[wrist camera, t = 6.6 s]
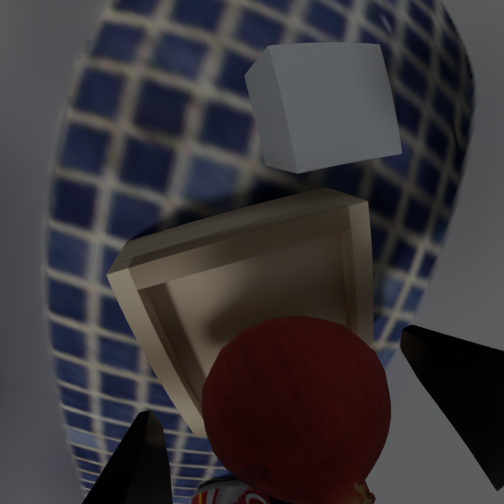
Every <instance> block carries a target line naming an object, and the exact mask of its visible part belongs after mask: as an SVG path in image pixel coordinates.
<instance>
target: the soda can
mask: <svg viewBox="0 0 504 504" xmlns="http://www.w3.org/2000/svg"><path fill="white" fill-rule="evenodd" d="M191 504H270V501H269V498H268V495H266V494H263V493H261V492H259V491H257V490H255V489H253V488H252V487H250V486H248V485H247V484H245V483H243V482H242V481H221V482H216V483H212V484H208V485H206V486H204V487H202V488H200V489H199V490H198V491H197V492H196V493H195V494H194V495H193V497H192V499H191Z"/></svg>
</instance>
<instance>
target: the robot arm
mask: <svg viewBox="0 0 504 504" xmlns="http://www.w3.org/2000/svg"><path fill="white" fill-rule="evenodd" d="M400 348H401V351H402V353H403V354H404V356H405V357H406V359H407V361H408V362H409V364H410V366H411V367H412V369H413V371H414V373H415V374H416V376H417V377H418V379H419V380H420V382H421V383H422V385H423V386H424V387H425V389H426V390H427V391H428V393H429V394H430V395H431V397H432V398H433V399H434V401H435V402H436V403H437V405H438V406H439V408H440V409H441V410H442V412H443V413H444V414H445V415H446V417H447V418H448V420H449V421H450V423H451V424H452V425H453V427H454V428H455V430H456V431H457V432H458V434H459V435H460V437H461V438H462V439H463V441H464V442H465V444H466V445H467V447H468V448H469V450H470V451H471V453H472V454H473V455H474V457H475V459H476V460H477V462H478V463H479V465H480V466H481V468H482V469H483V471H484V472H485V474H486V475H487V477H488V478H489V480H490V481H491V483H492V484H493V486H494V488H495V489H496V490H497V491H498V490H499V489H501V488H502V487H503V486H504V351H502V350H498V349H495V348H491V347H488V346H484V345H480V344H477V343H473V342H470V341H466V340H463V339H460V338H456V337H453V336H449V335H446V334H442V333H439V332H436V331H432V330H429V329H425V328H422V327H419V326H416V325H409V326H407V327H405V328H403V330H402V332H401V342H400ZM94 485H95V486H93V487H92V489H91V490H90V492H89V493H88V495H87V496H86V498H85V500H84V501H83V503H82V504H173V501H172V490H171V478H170V466H169V460H168V454H167V449H166V443H165V437H164V431H163V427H162V425H161V423H160V422H159V420H158V419H157V418H156V416H155V415H154V413H153V412H152V411H143V412H140V413H139V414H138V415H137V417H136V418H135V420H134V422H133V423H132V425H131V426H130V428H129V429H128V431H127V433H126V434H125V436H124V437H123V439H122V441H121V442H120V444H119V445H118V447H117V449H116V450H115V452H114V453H113V455H112V457H111V458H110V460H109V461H108V463H107V465H106V466H105V468H104V469H103V471H102V473H101V474H100V476H99V477H98V479H97V481H96V482H95V484H94ZM268 498H269V501H270V504H293V503H289V502H286V501H282V500H279V499H276V498H273V497H270V496H268Z"/></svg>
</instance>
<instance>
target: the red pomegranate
mask: <svg viewBox="0 0 504 504" xmlns="http://www.w3.org/2000/svg"><path fill="white" fill-rule="evenodd" d="M202 415H203V421H204V426H205V431H206V434H207V437H208V439H209V442H210V445H211V448H212V450H213V452H214V453H215V455H216V456H217V458H218V459H219V460H220V462H221V463H222V465H223V466H224V467H225V468H226V469H227V470H228V471H229V472H230V473H232V474H233V475H234V476H235V477H236V478H237V479H238V480H240V481H242V482H243V483H245V484H247V485H248V486H250V487H252V488H253V489H255V490H257V491H259V492H261V493H263V494H266V495H268V496H270V497H273V498H276V499H279V500H282V501H286V502H289V503H293V504H374V502H375V499H376V498H375V497H374V494H373V493H370V491H369V489H368V487H367V484H366V482H365V479H366V478H367V476H368V474H369V473H370V471H371V470H372V468H373V466H374V465H375V463H376V461H377V460H378V458H379V456H380V454H381V451H382V449H383V447H384V445H385V442H386V439H387V435H388V432H389V426H390V420H391V401H390V395H389V389H388V384H387V379H386V374H385V370H384V368H383V366H382V364H381V362H380V360H379V358H378V357H377V355H376V353H375V351H374V350H373V349H371V348H370V347H369V346H368V345H367V344H366V343H365V342H364V341H363V340H362V339H361V338H360V337H359V336H357V335H356V334H355V333H353V332H352V331H351V330H349V329H348V328H347V327H345V326H344V325H343V324H339V323H335V322H331V321H328V320H324V319H318V318H313V317H307V316H302V315H297V316H289V317H280V318H271V319H268V320H266V321H264V322H261V323H259V324H257V325H255V326H252V327H249V328H247V329H245V330H243V331H241V332H240V333H239V334H238V335H237V336H235V337H234V338H233V339H232V340H231V341H230V342H229V343H227V344H226V345H225V346H224V347H223V348H222V349H221V350H220V352H219V354H218V356H217V358H216V360H215V362H214V364H213V366H212V367H211V369H210V372H209V374H208V376H207V378H206V381H205V383H204V385H203V387H202Z"/></svg>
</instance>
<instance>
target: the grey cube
mask: <svg viewBox="0 0 504 504" xmlns="http://www.w3.org/2000/svg"><path fill="white" fill-rule="evenodd" d="M245 80H246V84H247V88H248V92H249V96H250V100H251V105H252V109H253V113H254V117H255V122H256V126H257V130H258V134H259V139H260V143H261V148H262V152H263V157H264V161H265V166H269V167H273V168H277V169H281V170H285V171H289V172H293V173H297V174H299V173H303V172H308V171H312V170H317V169H322V168H327V167H332V166H337V165H342V164H347V163H352V162H357V161H363V160H368V159H374V158H380V157H385V156H391V155H398V154H402V150H401V143H400V136H399V130H398V123H397V118H396V112H395V107H394V102H393V97H392V92H391V87H390V83H389V79H388V74H387V70H386V66H385V63H384V59H383V55H382V51H381V48H380V44H367V43H337V42H327V43H297V44H282V45H271V46H268V47H267V48H266V49H265V50H264V52H263V53H262V54H261V55H260V57H259V58H258V59H257V60H256V62H255V63H254V64H253V65H252V67H251V68H250V69H249V70H248V72H247V73H246V74H245Z"/></svg>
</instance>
